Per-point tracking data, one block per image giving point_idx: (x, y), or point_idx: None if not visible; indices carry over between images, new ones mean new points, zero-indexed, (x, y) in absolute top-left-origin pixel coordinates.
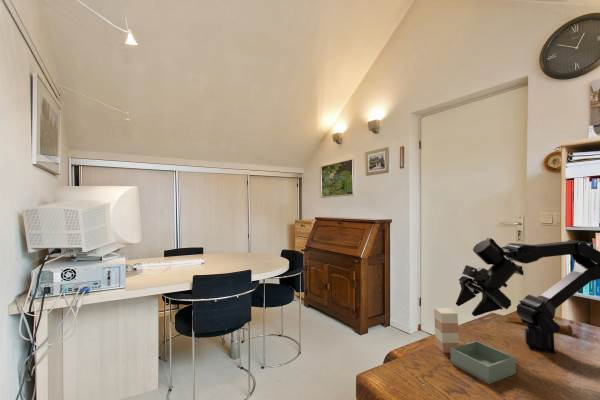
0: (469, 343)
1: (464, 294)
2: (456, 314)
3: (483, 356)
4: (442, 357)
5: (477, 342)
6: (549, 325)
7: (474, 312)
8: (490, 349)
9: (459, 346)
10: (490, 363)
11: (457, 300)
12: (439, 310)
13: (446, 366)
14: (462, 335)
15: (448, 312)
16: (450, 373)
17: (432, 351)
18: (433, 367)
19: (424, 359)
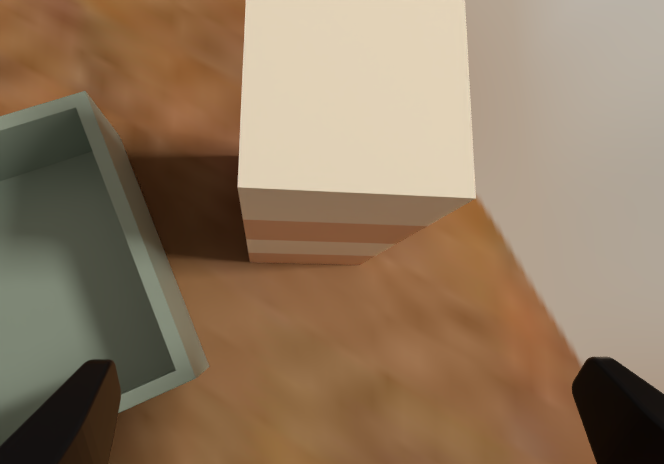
0: (148, 287)
1: None
2: (238, 175)
3: (142, 383)
4: (194, 123)
5: (168, 374)
6: None
7: (57, 398)
8: None
9: (101, 173)
10: (53, 379)
11: (661, 402)
12: (369, 7)
13: (84, 90)
14: (511, 435)
15: (283, 80)
16: (2, 71)
17: None
18: (82, 14)
19: (179, 10)
